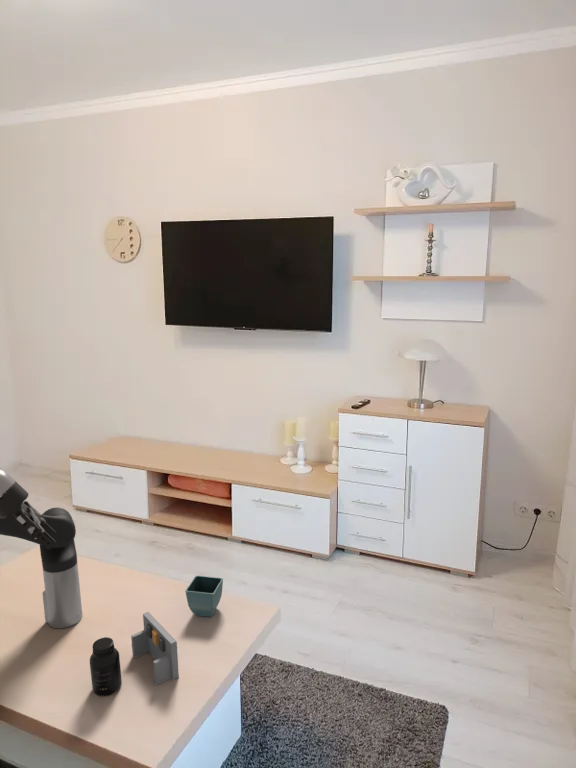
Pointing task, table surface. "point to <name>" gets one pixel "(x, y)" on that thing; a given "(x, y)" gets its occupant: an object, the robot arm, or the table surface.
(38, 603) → the table surface
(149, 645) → the panel
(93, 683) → the supplement bottle
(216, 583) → the flower pot
